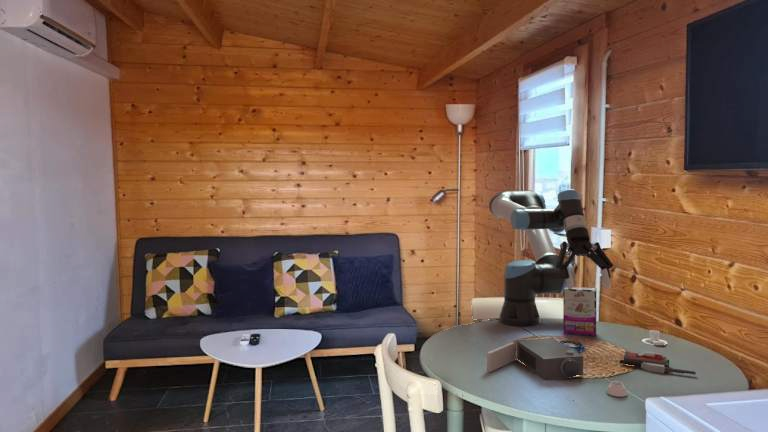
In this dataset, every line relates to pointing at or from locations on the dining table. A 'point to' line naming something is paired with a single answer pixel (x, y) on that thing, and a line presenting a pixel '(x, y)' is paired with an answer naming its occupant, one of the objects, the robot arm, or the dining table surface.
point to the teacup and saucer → (655, 338)
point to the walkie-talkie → (651, 362)
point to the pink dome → (616, 389)
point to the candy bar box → (579, 311)
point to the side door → (501, 356)
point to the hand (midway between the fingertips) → (589, 288)
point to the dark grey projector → (549, 358)
